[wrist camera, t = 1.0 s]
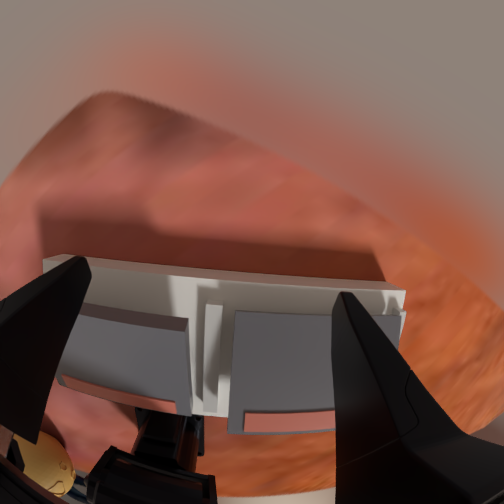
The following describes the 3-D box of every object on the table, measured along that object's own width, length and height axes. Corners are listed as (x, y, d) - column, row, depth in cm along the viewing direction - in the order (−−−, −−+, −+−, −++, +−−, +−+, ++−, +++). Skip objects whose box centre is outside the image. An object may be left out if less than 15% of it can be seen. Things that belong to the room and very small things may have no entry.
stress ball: (24, 410, 21) (14, 461, 16) (1, 420, 14) (-7, 480, 8) (84, 444, 24) (73, 493, 19) (77, 465, 16) (66, 522, 11)
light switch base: (358, 392, 22) (374, 416, 18) (76, 367, 20) (56, 388, 16) (386, 281, 20) (413, 294, 16) (63, 253, 18) (34, 261, 15)
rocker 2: (373, 414, 16) (384, 422, 14) (227, 422, 15) (227, 434, 14) (389, 314, 17) (402, 315, 16) (234, 309, 17) (235, 311, 15)
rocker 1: (193, 399, 17) (191, 417, 16) (67, 371, 17) (58, 385, 15) (189, 313, 14) (184, 333, 13) (37, 288, 14) (23, 301, 12)
